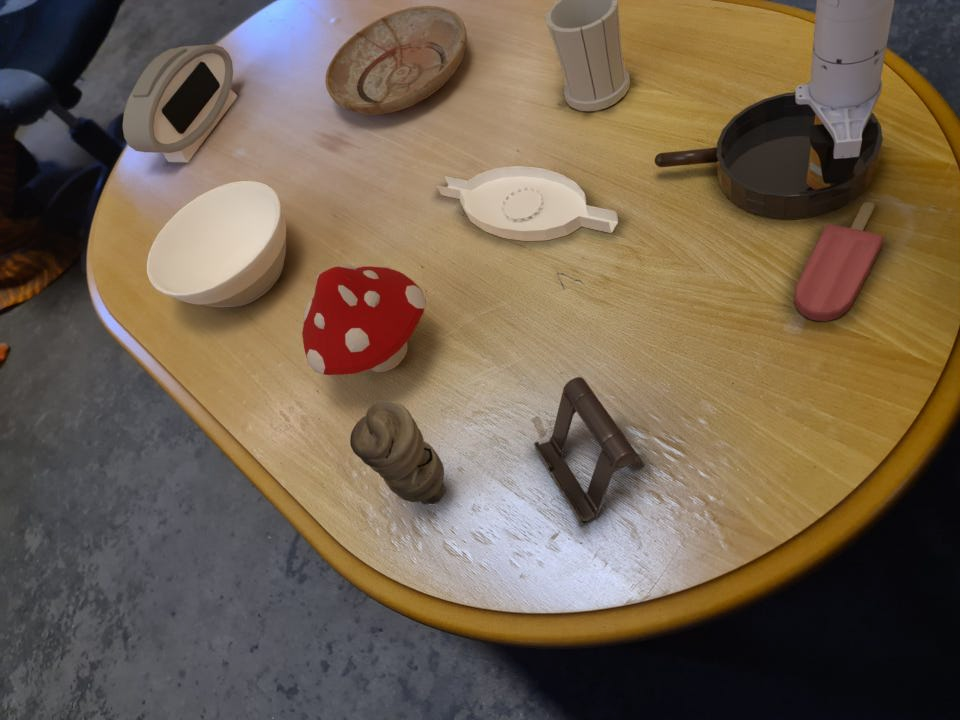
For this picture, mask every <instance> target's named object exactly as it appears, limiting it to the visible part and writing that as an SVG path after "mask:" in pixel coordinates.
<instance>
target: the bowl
mask: <svg viewBox="0 0 960 720" xmlns="http://www.w3.org/2000/svg"><path fill="white" fill-rule="evenodd" d="M286 254H287V223H286V219H285V216H284V212H283V208H282V205H281V201H280V197H279V196H278V194H277V192H276V191H275V190H274V189H273V188H271V187H270V186H269V185H267V184H266V183H262V182H259V181H254V180H241V181H239V180H238V181H233V182H228V183H225V184H221V185H219V186H217V187H214V188H211V189H210V190H208V191H206V192H204V193H202V194H200V195H198V196H197V197H195V198H194V199H192V200H191V201H189V202H188V203H187V204H186V205H184V206H183V207H182V208H180V209H179V210H178V211H177V212H176V213H175V214H174V215H173V216H172V217H171V218H170V219H169V220H168V221H167V222H166V223H165V225H164V226H163V227H162V228H161V230H160V231H159V232H158V234H157V236H156V237H155V238H154V240H153V242H152V245H151V247H150V250H149V252H148V255H147V260H146V274H147V277H148V280H149V282H150V284H151V285H152V286H153V287H154V288H155V290H157V291H158V292H160V293H161V294H164V295H166V296H169V297H172V298H173V299H175V300H179V301H181V302H185V303H188V304H193V305H198V306H203V307H213V308H238V307H243V306H245V305H248V304H251V303H253V302H255V301H257V300H259V298H262V297H263V296H265V294H267V293H268V292H269V291H270V290H271V289H272V287H274V285H275V284H276V283H277V281H278V280H279V278H280V277H281V274H282V272H283V270H284V265H285V258H286Z"/></svg>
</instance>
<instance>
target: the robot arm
mask: <svg viewBox="0 0 960 720" xmlns="http://www.w3.org/2000/svg"><path fill="white" fill-rule="evenodd" d="M894 6H895V0H816V5H815V17H814V29H813V41H812V43H813V44H812V54H811V64H810V65H811V66H810V77H809V82H808V83H804V84H798V85H797V86H796V87H795V90H794V92H795V100H796V103H797V104H800V105H802V104H808V105H810V106H811V108H812V109H813V111H814V112H815V113H816V115H817V116H818V118H819V119H820V120H821V122H822V123H823V124H818V125H810V126H809V139H810V144H811V146H812V148H813V149H814V150H815V151H816V153H817V154H818V157H819V159H820V164H821V172H822V178H823V181H824V183H825V184H827V183H841V182H846V181H847V180H848V178H849V177H850V175H851V173H852V171H853V169H854V167H855V165H856V163H857V161H858V159H859V158H860V156H861V155H862V154H863V153H864V151H865V150H866V149H867V148H869V147H870V146H871V145H872V144H874V143H875V141H876V139H877V137H878V133H879V131H878V123H867V122H868V120H869V118H870V116H871V113H873V112H874V109H875V107H876V105H877V102H878V101H879V99H880V97H881V94H882V89H883V81H882V74H883V69H884V63H885V58H886V51H887V45H888V40H889V34H890V29H891V22H892V17H893V12H894Z"/></svg>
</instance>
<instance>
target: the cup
mask: <svg viewBox="0 0 960 720" xmlns="http://www.w3.org/2000/svg"><path fill="white" fill-rule="evenodd" d="M619 10H620V8H619V0H556V1H555V2H554V3H553V4H552V5H551V7H549V9H548V11H547V13H546V16H545V21H546V25H547V28H548V31H549V34H550V38H551V41H552V43H553V46H554V49H555V52H556V56H557V58H558V62H559V66H560V69H561V73H562V76H563V81H564V84H563V93H564V98H565V101H566V103H567V104H568V105H569V106H570V108H573V109H575V110H577V111H582V112H598V111H601V110H604V109H607V108H609V107H612V106H613V105H615V104H617V103H618V102H619V101H621V99H623V97H625V96H626V94H627V92H628V91H629V89H630V85H631V77H630V73H629V70H628V68H627V67H626V66H625V60H624V54H623V53H624V52H623V46H622V36H621V24H620V11H619Z"/></svg>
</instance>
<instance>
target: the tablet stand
mask: <svg viewBox="0 0 960 720" xmlns="http://www.w3.org/2000/svg"><path fill="white" fill-rule="evenodd" d="M576 413H577V415H578V416H579V417H580V419H581V420H582V422H583V423H584V425H585V426H586V428H587V429H588V431H589V432H590V434H591V435H592V437H593V438H594V440H595V441H596V443H597V444H598V446H599V447H600V448H601V449H600V452H599V455H598V458H597V461H596V463H595V466H594V470H593V473H592V476H591V479H590V482H589V485H588V488H587V491H586V492H585V491H584V489H583V487H582V486H581V484H580V482H579V481H578V480H577V478H576V476H575V475H574V473H573V471H572V470H571V468H570V467H569V465H568V463H567V461H566V460H565V459H564V456H563V455H564V452H565V447H566V444H567V441H568V438H569V437H568V436H569V434H570V433H569V432H570V428H571V425H572V421H573V418H574V415H575V414H576ZM533 445H534V450H535V451H536V453H537V454H538V456H539V457H540V459H541V461H542V463H543V464H544V466H545V468H546V469H547V472H548V473H549V475H550V476H551V478H552V479H553V482H554V483H555V484H556V487H557V488H558V490H559V491H560V493H561V495H562V496H563V498H564V500H565V502H566V503H567V505H568V506H569V509H570V510H571V512H572V513H573V515H574V517H575V519H576V520H577V521H578V523H579V524H580V525H587V524H589V523H591V522H593V521H594V520H595V519H596V518H597V517H598V516H599V513H600V511H601V509H602V505H603V503H604V500H605V498H606V494H607V492H608V489H609V486H610V483H611V481H612V479H613V476H614V474H615V473H616V472H617V471H619V470H621V469H625V468H626V467H628V466H630V465H631V464H635V465H637V466H640V467H644V466H645V462H644V460H643V459H642V457H641V456H640V455H639V454H638V453H637V452H636V450H635V449H634V447H633V446H632V444H631V443H630V442H629V440H628V439H627V437H626V435H625V434H624V432H623V431H622V430H621V429H620V428H619V426H618V425H617V423H616V422H615V420H614V419H613V417H612V416H611V415H610V414H609V412H608V411H607V409H606V408H605V406H604V404H602V402H601V400H599V398H598V397H597V396H596V394H595V393H594V391H593V390H592V388H591V387H590V386H589V384H588V382H587V381H586V380H585V378H584V377H582V376H579V377H578V376H576V377H574V378H572V379H569V381H567V382H566V384H565V385H564V386H563V389H562V393H561V396H560V401H559V405H558V409H557V413H556V417H555V421H554V426H553V430H552V434H551V437H550V438H549V441H546V442H543V443H539V441H535V442H534V444H533Z"/></svg>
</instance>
